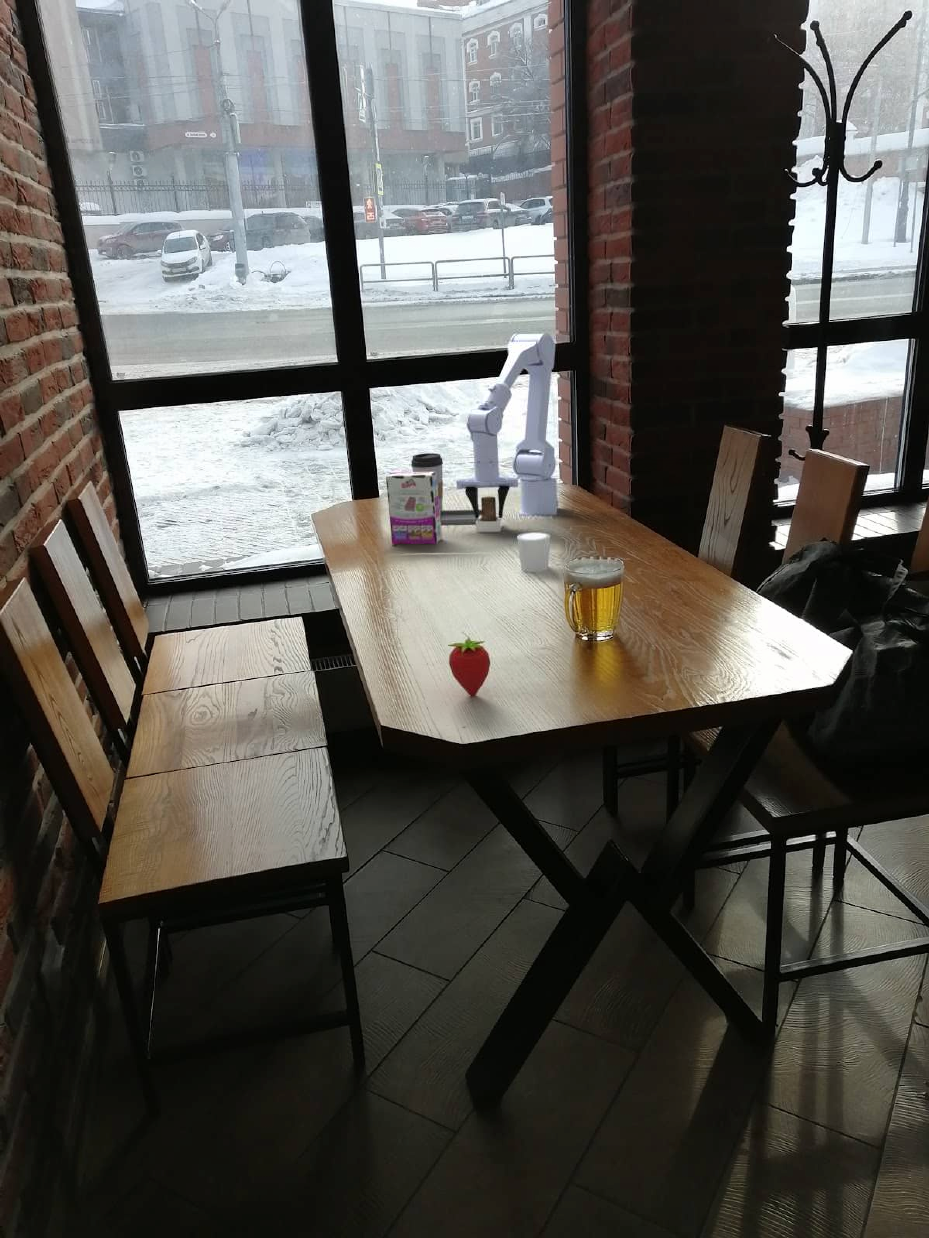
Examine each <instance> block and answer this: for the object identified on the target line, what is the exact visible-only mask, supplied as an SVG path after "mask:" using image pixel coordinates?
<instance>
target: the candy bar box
mask: <svg viewBox="0 0 929 1238" xmlns="http://www.w3.org/2000/svg"><path fill="white" fill-rule="evenodd" d="M385 482H386V484H385V485H386V490H387V491H386V492H387V493H386V494H387V503H388V504H387V505H388V515H389V524H390V534H391V535H390V537H391V544H395V545H394V546H398V545H399V544H400V545H407V544H408V545H412V544H413V545H438V543H439V542H441V540H443V534H442V531H443V530H442V525H441V519H440V506H439V492H438V479H437V472H413V471H410V472H409V471H406V472H405V471H404V472H403V471H400V472H391V473H389V474H387V475H386V476H385ZM396 544H397V545H396Z"/></svg>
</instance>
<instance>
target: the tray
mask: <svg viewBox="0 0 929 1238" xmlns="http://www.w3.org/2000/svg"><path fill="white" fill-rule="evenodd" d="M479 516H482V509H479ZM440 519H441V526H445V525H448V526H449V524H450V525H452V524H453V525H476V520H477V519H476V518H475V514H474V510H473V509H459V510H458V509H450V510H449V509H448V510H447V509H446V510H443V509H442V510H441V511H440Z"/></svg>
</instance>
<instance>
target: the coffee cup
mask: <svg viewBox="0 0 929 1238" xmlns="http://www.w3.org/2000/svg"><path fill="white" fill-rule="evenodd" d="M443 464H444V462H443V458H442V455H441V454H440V453H437V452H436V453H434V452H431V453H430V452H428V453H419V454H414V455H412V459H411V464H410V466H411V468H412V469H411V470H412V472H437V479H438V492H439V506H440V511H441V510H443V494H444V491H443V490H444V487H443V486H444V484H443V483H444V482H443V481H444V480H443Z"/></svg>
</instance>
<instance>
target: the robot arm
mask: <svg viewBox="0 0 929 1238" xmlns="http://www.w3.org/2000/svg"><path fill="white" fill-rule="evenodd" d="M555 352H556V343H555V341H554V340H553V338H552V335H551V334H550V333H548V332H546V333H545V332H543V333H515V334H513V335H512V336H511V338H510V340H509V342H508V344H507V354H508V355H507V359H506V361H505V362H504V365H503V368H502V370H501V373H500V374H499V377H498V379H497V381H496V382H493V383H491V384H490V385H489V386H488V388H487V391H486V392H485V394H484V395H483V398H482V399H481V401H480V403H479V405H478V406H477V408H475V409H473V411H471V412H470V413H469V415H468V417H467V422H466V428H467V430H468V432H469V435H470V440H471V442H472V445H473V446H472V447H473V465H474V477H472V478H462V479H461V478H460V479H459V478H458V479H457V480H456V489H457V490H461V489H465V492H464V493H465V496H466V497H467V499H468V501H469V503H470V505H471V507H472V510H474V514H475V518H476V519H477V518H479V510H480V509H479V507H480V506H479V491H478V490H479V489H482V488H483V489H484V488H486V489H487V488H498V489H497V498H498V499H497V500H498V516H499V518H502V519H503V516H504V515H503V513H504V507H505V503H506V499H507V496H508V493H509V491H510V488H518V487H519V483H520V503H521V505H520V509H519V512H518V515H519V516H546V515H547V516H550V515H552V516H553V515H557V512H558V508H559V499H558V481H557V478H556V477H552V476H553V474H554V472H555V470H556V464H557V463H556V458H555V448H554V446H553V445H552V444H550V442H549V441H547V431H548V429H547V428H548V415H549V404H550V403H549V402H550V393H551V392H550V391H551V382H552V381H551V380H552V370H553V369H554V366H555V356H556V355H555V354H556V353H555ZM523 370H526V371H527V373H528V375H529V381H528V393H527V394H528V395H527V405H526V416H525V417H526V419H525V432H524V438H523V440H522V441H520V442H519V443H518V444H517V445H516V447H515V453H514V457H513V458H512V469H513V472H514V474H516V475H517V477H502V476H500V469H499V467H500V466H499V449H498V448H499V447H498V443H499V442H498V434H499V432H500V431H501V429H502V427H503V418H504V412H505V410H506V408H507V407H508V404H509V402H510V400H511V399H512V396H513V394H512V392H511V388H512V387H513V385H514V383H515V382H516V381H517V379H518V377H519V376H520V374H521V373H522V372H523ZM519 481H520V482H519Z"/></svg>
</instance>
